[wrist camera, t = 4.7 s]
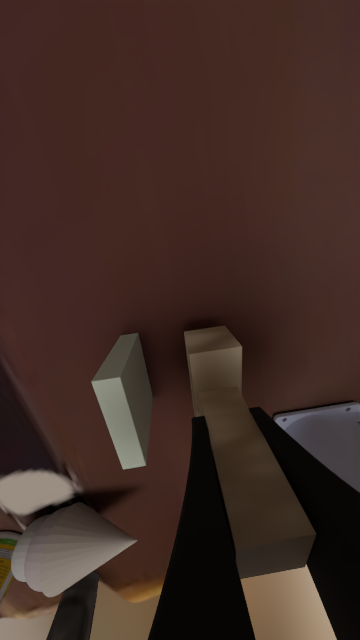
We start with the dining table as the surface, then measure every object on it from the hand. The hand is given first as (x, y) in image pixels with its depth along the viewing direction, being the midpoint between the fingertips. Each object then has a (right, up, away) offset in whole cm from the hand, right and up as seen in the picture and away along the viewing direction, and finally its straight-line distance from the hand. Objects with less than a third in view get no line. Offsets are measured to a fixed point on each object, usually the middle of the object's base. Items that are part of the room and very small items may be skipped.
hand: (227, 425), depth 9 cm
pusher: (0, +1, +4) cm, 5 cm away
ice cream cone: (-14, -17, +12) cm, 25 cm away
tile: (-6, +1, +6) cm, 9 cm away
